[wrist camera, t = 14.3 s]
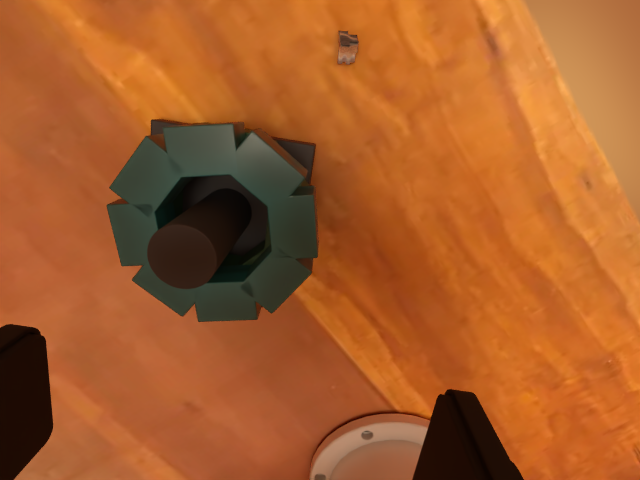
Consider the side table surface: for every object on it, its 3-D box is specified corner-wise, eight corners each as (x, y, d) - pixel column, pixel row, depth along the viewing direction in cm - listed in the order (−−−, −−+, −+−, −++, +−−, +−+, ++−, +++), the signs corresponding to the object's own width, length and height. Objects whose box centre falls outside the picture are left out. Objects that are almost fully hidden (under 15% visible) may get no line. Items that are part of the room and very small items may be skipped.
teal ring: (311, 118, 18) (309, 118, 16) (321, 297, 21) (321, 317, 19) (115, 128, 18) (87, 131, 16) (154, 303, 21) (135, 324, 19)
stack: (321, 139, 21) (318, 155, 13) (299, 287, 24) (286, 372, 16) (154, 112, 21) (48, 112, 13) (154, 266, 24) (68, 342, 16)
